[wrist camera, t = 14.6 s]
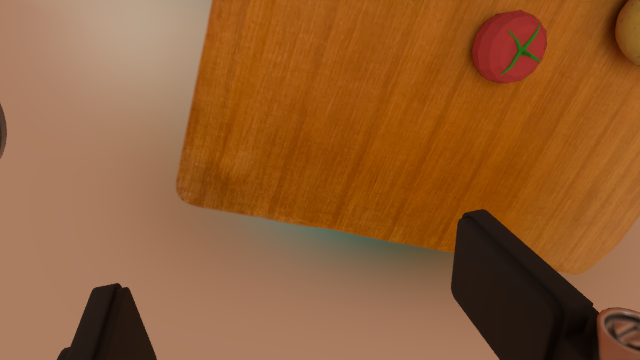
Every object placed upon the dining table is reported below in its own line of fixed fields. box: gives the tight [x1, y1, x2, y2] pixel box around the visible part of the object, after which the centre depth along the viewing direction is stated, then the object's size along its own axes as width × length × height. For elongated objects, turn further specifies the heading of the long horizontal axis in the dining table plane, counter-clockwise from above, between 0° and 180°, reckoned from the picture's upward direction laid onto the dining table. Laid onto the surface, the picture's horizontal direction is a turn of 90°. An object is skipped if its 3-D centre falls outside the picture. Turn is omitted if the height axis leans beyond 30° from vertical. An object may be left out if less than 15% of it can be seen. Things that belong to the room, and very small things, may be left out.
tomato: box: [472, 10, 547, 83], centre depth 45 cm, size 8×8×8 cm
